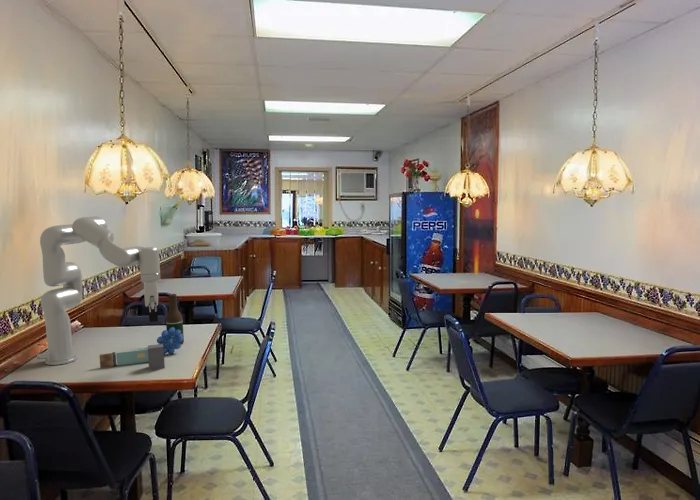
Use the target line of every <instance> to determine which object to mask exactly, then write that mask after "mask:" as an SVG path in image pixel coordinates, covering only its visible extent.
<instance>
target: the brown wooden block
mask: <svg viewBox="0 0 700 500" xmlns="http://www.w3.org/2000/svg"><path fill="white" fill-rule="evenodd" d="M99 367H100V369H103V368H113V367H117V357H116V352H115V351H113V352H111V353H102V354H99Z"/></svg>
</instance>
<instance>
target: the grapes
mask: <svg viewBox="0 0 700 500" xmlns="http://www.w3.org/2000/svg"><path fill="white" fill-rule="evenodd" d="M160 334H161V336H158V337H157V338H156V344H163V349H164V355H166V354H169V355H173V354H174V353H175V350H180V348H181V346H182V344H180V343H179V342H182V341H183V336H182V335H181V330H176V331H175V328H174V327H172V328H170V329H169V331H167V329H165V330H163V331H161V333H160Z"/></svg>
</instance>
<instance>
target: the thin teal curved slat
mask: <svg viewBox="0 0 700 500" xmlns="http://www.w3.org/2000/svg"><path fill="white" fill-rule="evenodd" d="M115 354H116V367H117V366H123V365H124V366H125V365H132V364H140V363H141V364H142V363H149V360H148V348H143V349H135V350H126V351H117V352H115Z"/></svg>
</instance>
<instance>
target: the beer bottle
mask: <svg viewBox="0 0 700 500" xmlns="http://www.w3.org/2000/svg"><path fill="white" fill-rule="evenodd" d="M177 297H178V296H177V294H176V293H169V295H168V298H169V300H168V301H169V302H168V303H169V307H168V308H169V310H168V313H167V314H166V318H165V325H166V326H165V328H166V329H165V330H167V331H169V329H170V328H172V327H174V328H175V331H176V330H181V335H182V336H183V341H182V342H179V343H180V344H181V345H184V342H185V340H184V339H185V336H184V323H183V322H184V321H183V320H184V319H183V316H182V313H181V312H180V311H179V307H178V300H177V299H178V298H177Z"/></svg>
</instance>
